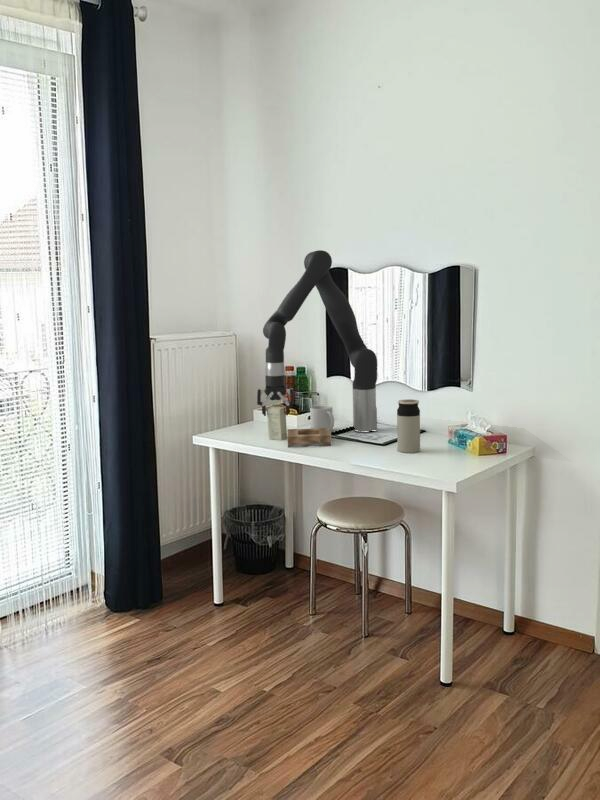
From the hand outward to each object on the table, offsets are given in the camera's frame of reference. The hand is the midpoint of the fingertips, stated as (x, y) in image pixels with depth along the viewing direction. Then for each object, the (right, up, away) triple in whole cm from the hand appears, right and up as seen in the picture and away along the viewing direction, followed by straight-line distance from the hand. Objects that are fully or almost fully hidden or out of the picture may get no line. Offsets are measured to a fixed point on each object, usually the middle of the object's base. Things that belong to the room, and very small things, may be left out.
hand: (275, 415), depth 310 cm
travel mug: (+48, -12, -26) cm, 56 cm away
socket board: (+13, -10, -7) cm, 18 cm away
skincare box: (+1, -9, +1) cm, 10 cm away
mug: (+18, -7, +11) cm, 23 cm away
